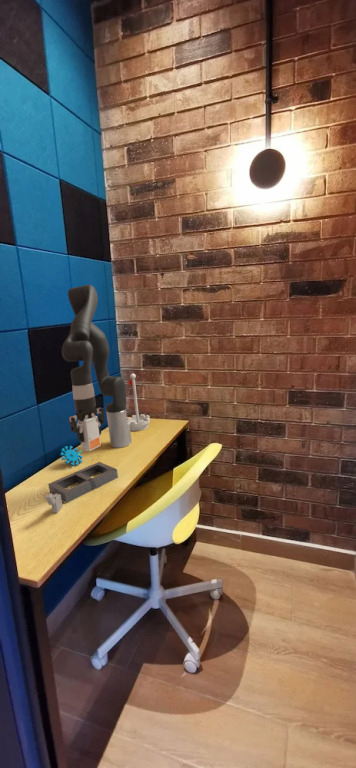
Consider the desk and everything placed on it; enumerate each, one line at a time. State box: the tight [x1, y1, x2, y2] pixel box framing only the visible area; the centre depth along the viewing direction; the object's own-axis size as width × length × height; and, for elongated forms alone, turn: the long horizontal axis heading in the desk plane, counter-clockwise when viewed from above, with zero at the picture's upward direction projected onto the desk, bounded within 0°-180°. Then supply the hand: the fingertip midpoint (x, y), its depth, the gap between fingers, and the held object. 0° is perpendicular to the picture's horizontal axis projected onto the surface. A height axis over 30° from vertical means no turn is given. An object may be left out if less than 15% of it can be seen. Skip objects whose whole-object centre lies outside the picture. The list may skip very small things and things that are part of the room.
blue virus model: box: [59, 445, 83, 467], centre depth 152 cm, size 11×6×10 cm
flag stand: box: [127, 373, 151, 432], centre depth 188 cm, size 13×13×30 cm
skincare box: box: [77, 415, 102, 452], centre depth 131 cm, size 6×4×12 cm
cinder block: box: [48, 461, 119, 504], centre depth 131 cm, size 22×12×4 cm, turn 137°
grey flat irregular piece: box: [44, 493, 63, 514], centre depth 114 cm, size 7×2×8 cm, turn 175°
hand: (90, 438), depth 131 cm, fingers closed on skincare box, 6 cm apart
